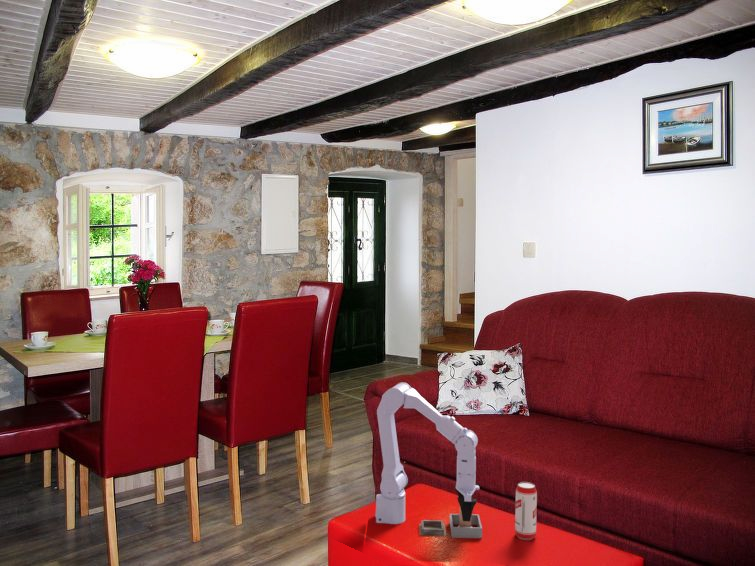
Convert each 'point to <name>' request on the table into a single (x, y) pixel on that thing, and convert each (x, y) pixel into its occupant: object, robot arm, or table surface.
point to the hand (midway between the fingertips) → (465, 515)
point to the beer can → (525, 511)
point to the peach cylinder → (463, 523)
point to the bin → (465, 531)
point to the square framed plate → (432, 528)
